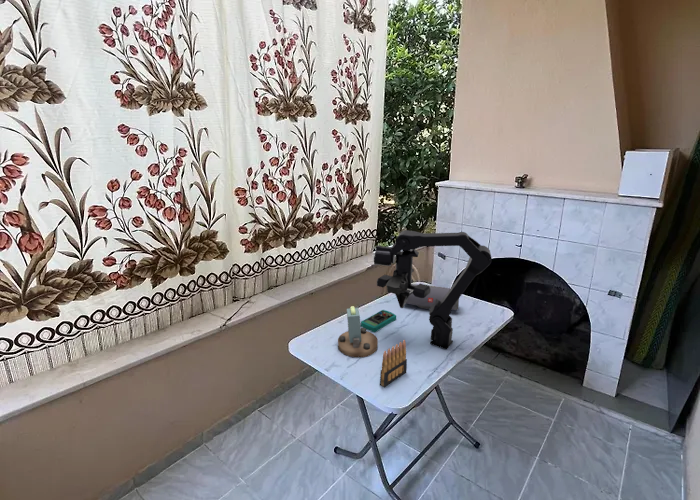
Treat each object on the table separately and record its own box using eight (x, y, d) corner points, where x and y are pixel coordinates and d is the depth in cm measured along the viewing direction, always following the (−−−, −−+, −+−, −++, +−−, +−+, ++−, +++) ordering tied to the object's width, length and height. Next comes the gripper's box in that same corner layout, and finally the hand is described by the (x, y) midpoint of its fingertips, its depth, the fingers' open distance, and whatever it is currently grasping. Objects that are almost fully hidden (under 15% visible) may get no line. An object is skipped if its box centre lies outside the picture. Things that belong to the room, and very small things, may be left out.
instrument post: (359, 332, 136) (357, 304, 132) (361, 341, 130) (359, 312, 126) (348, 333, 135) (346, 305, 132) (349, 342, 130) (347, 313, 126)
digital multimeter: (397, 320, 153) (397, 313, 152) (374, 334, 143) (374, 327, 142) (382, 314, 158) (383, 308, 157) (359, 327, 147) (359, 320, 146)
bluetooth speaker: (402, 309, 162) (403, 287, 159) (405, 300, 170) (407, 279, 167) (457, 316, 155) (459, 294, 152) (458, 306, 164) (460, 285, 161)
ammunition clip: (402, 370, 121) (403, 337, 117) (406, 373, 119) (408, 339, 116) (379, 385, 114) (380, 350, 110) (384, 388, 112) (385, 353, 109)
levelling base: (374, 335, 141) (375, 322, 139) (380, 356, 128) (380, 342, 126) (337, 336, 140) (337, 323, 138) (339, 358, 127) (339, 344, 125)
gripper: (368, 268, 130) (367, 308, 135) (418, 280, 120) (415, 324, 125) (385, 259, 139) (383, 298, 144) (432, 270, 129) (429, 311, 133)
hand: (401, 307), depth 136 cm, fingers closed
